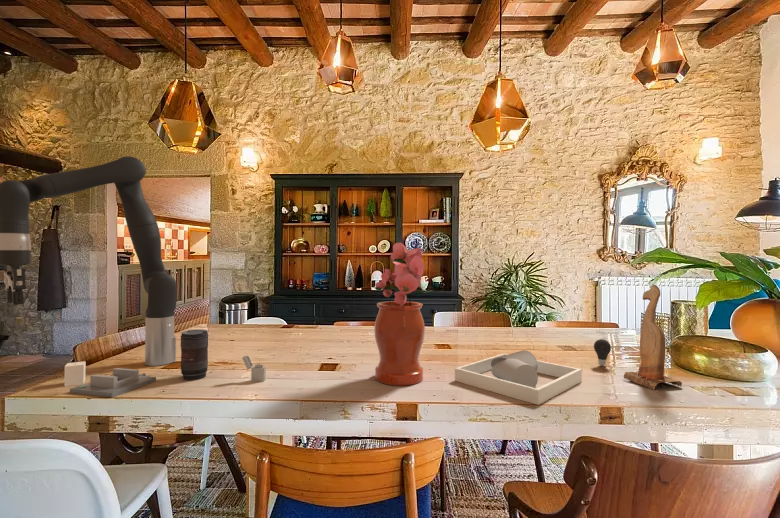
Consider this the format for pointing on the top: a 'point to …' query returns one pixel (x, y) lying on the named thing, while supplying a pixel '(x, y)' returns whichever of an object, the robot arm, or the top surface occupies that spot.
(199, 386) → the top surface
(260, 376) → the lighter
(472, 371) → the roll tray
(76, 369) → the charger block
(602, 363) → the light bulb
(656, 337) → the bird sculpture
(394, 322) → the potted flower
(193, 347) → the camera lens
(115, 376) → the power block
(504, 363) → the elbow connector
